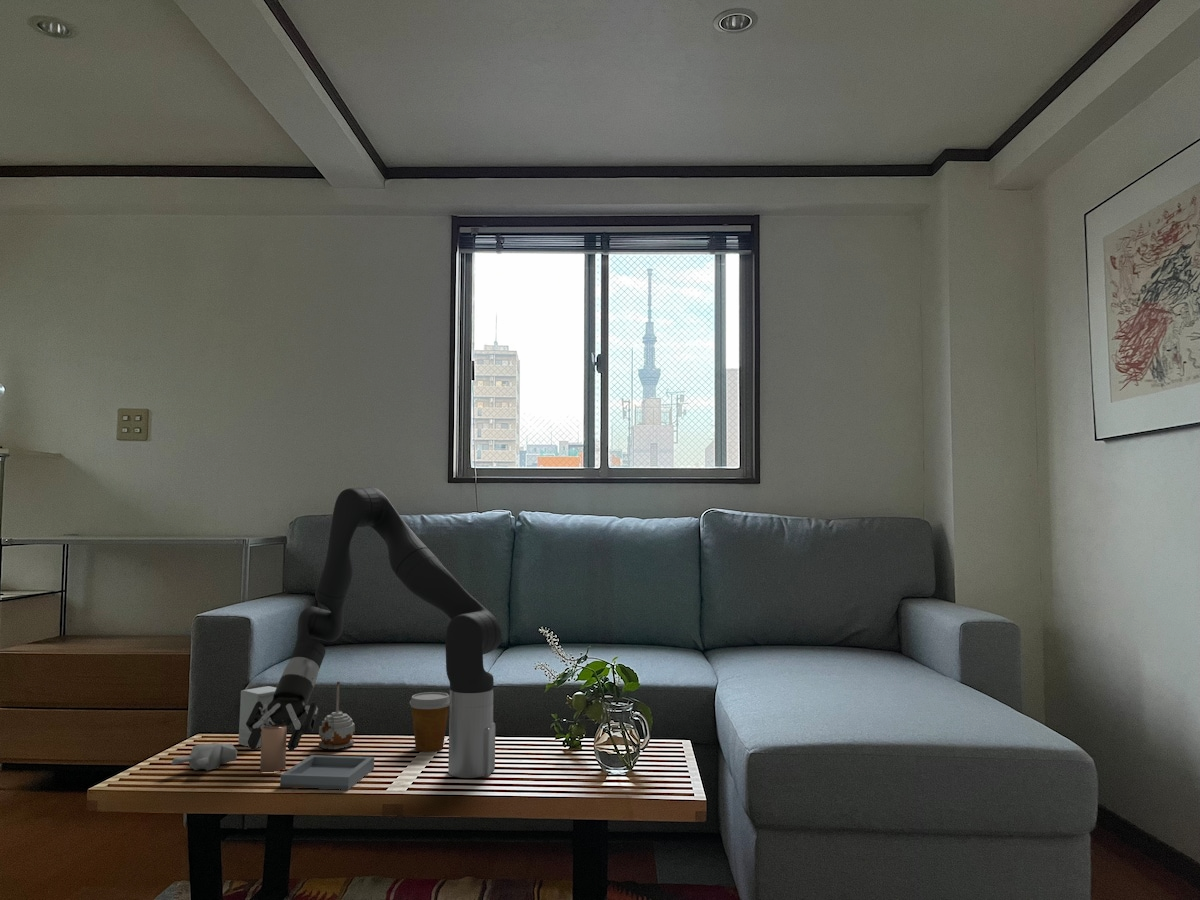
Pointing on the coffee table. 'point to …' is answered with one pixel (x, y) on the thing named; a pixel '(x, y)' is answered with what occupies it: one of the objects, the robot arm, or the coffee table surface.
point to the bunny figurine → (208, 756)
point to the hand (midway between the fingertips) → (270, 748)
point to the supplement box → (246, 707)
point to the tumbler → (273, 748)
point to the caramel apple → (336, 729)
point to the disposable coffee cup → (429, 720)
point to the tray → (327, 772)
